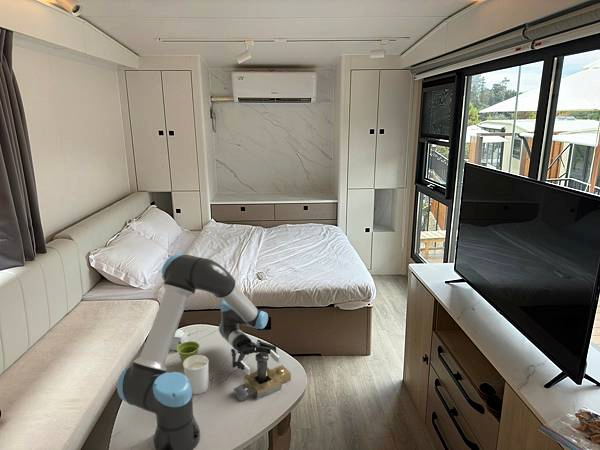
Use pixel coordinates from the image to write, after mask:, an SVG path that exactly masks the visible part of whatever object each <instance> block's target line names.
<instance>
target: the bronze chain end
mask: <svg viewBox="0 0 600 450" xmlns="http://www.w3.org/2000/svg"><path fill="white" fill-rule="evenodd" d="M267 374H268V380H269V381H267V382H265V383H263V384H259V383H258V382H257V381H256V380H258V374H257V371H254V372H250V375H248V374H246V375H244V376H243V378H244V380H243V382H244V381H245V382H246V383H247V384H248V385H249V386H250V387H251V388H252V389H253V391H254V392H255V393H256V394H257V395H259V394H261V393H263V392H266V391H268V390H270V389H273V388H275V387H277V386H279V385H282V384H285V383H288V382H290V381H291V379H292V378H291V377H292V373H291V371H290V370H289V369H288V368H286V366H284V365H283V364H281V365H278V366H277V367H276V366H275V367H274V368H271V369H270V368H269V367H268V366H267Z"/></svg>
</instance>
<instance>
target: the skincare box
mask: <svg viewBox="0 0 600 450" xmlns="http://www.w3.org/2000/svg"><path fill="white" fill-rule="evenodd" d="M184 342H189V340H188V331H187V330H183V329H182V330H181V329H177V330H176V333H175V336H174V339H173V341H172V344H171V347H170V350H171V351H177V347H178V346H179V345H180V344H182V343H184Z"/></svg>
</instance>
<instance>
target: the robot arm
mask: <svg viewBox="0 0 600 450" xmlns="http://www.w3.org/2000/svg"><path fill="white" fill-rule="evenodd" d="M161 279H162V280H163V288H164V294H163V297H162V299H161V302H160V305H159V307H158V310H157V312H156V315H155V318H154V319H153V322H152V325H151V327H150V330H149V333H148V336H147V338H146V340H145V343H144V346H143V348H142V351H141V353H140V355H139V357H138V358H136V359H134V360H133V362H132V365H129V366H126V368H125V369H124V370H123V371H122V372H121V373H120V375H119V378H118V380H117V384H116V385H117V387H116V390H117V394H118V397H119V398H120V399H121V400H122V401H123V402H126V403H127V404H128V405H129V406H134V407H137V408H140V409H142V410H144V411H147V412H150V413H152V414H155V415H156V416H155V417H156V423H157V426H156V428H155V431H154V432H155V433H154V435H153V446H154V450H194V449H195V448H196V447H197V446H198V444H199V443H200V440H201V430H200V429H201V428H200V426H199V424H198V422H197V420H196V419H195V417H194V407H193V394H192V389H191V385H190V381H189V379H188V378H187V377H186V376H185V374H183V373H181V372H179V371H177V372H176V371H171V372H170V371H169V372H168V371H167V370H168V369H167V367H166V365H165V364H166V363H165V362H166V360H167V357H168V355H169V352H170V350H171V349H170V347H171V344H172V341H173V339H174V336H175V333H176V330H178V327H179V324H180V322H181V319H182V316H183V313H184V311H185V308H186V306H187V303H188V300H189V299H190V298H191V297H193V296H194V295H195V292H196V290H198V291H204V292H207V293H209V294H212V295H214V296H215V298H219V299H222V301H221V303H220V315H221V317H220V318H221V319H220V320H221V322H220V324H219V326H218V332H219V334H220V335H221V337H222V338H223V339H224V340H225V341H226V342H227V343H228V344H230V346H231V347H232V348H231V349H230V354H231V356H232V361H231V362H232V365H231V366H232V369H235V368H236V367H237V368H236V369H238V370H239V369H240V371H244V372H245V374H246V375H250V374H251V368H250V367H249V366H248V365H247V364H246V363H245V362H244V359H245V356H248V355H250V354H258V353H260V352H265V353H267V354H268V355H269V357H271V359H273V360H274V361H275V362H276V363H277V364H280V363H281V357H280V355H278V352H277V346H276V345H274V344H270V343H268V342H264V341H262V340H260V339H257V341H256V342H253V341H252V340H251V338H250V337H249V336H248V335H247V334H246V333H245V332H244V331H243V330H241V328H240V327H239V325H242V326H247V327H251V328H254V329H259V330H263V329H265V327H266V326H267V324H268V321H269V316H268V313H267V312H266V311H263V310H259V309H258V308H257V307H256V306H255V305H254V303H252V302H251V300H250V299H249V298H248V297H247V295H246V294H245V293H244V292H243V291H242V290H241V289H240V288H239V286H238V285H237V284H236V282H237V281H236V280H235V278H234V276H233V275H232V274H231V273H230V272H229V271H228V270H227V269H226V268H225V267H223V266H222V265H220V264H219V263H218V262H216V261H214V260H212V259H210V258H206V257H200V256H195V255H189V254H186V253H183V254H182V253H175V254H173V255H171V256H170V257H168V258H167V259H166V261H165V262H164V264H163V266H162V269H161ZM237 354H239V355H238V357H237ZM236 357H237V358H236ZM236 359H237V360H236Z"/></svg>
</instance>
